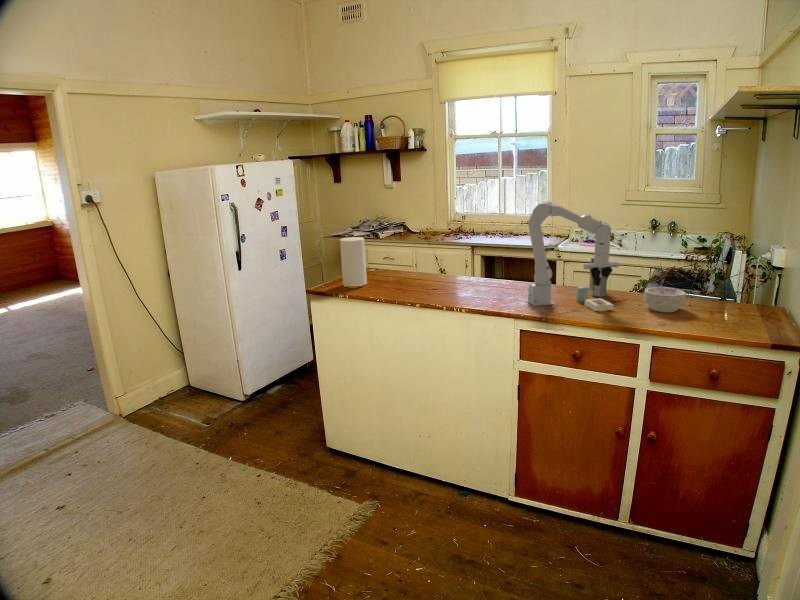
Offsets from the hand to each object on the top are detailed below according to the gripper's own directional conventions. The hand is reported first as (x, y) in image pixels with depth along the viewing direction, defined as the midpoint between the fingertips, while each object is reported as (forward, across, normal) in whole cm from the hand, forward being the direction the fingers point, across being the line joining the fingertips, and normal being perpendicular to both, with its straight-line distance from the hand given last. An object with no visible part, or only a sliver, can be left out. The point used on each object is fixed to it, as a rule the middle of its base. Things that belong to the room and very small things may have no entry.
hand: (599, 285), depth 219 cm
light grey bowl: (+10, +24, -9) cm, 27 cm away
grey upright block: (+10, -2, +12) cm, 16 cm away
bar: (+4, 0, 0) cm, 4 cm away
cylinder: (+10, -100, +70) cm, 122 cm away
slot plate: (+10, 0, 0) cm, 10 cm away
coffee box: (+10, +10, +21) cm, 26 cm away
